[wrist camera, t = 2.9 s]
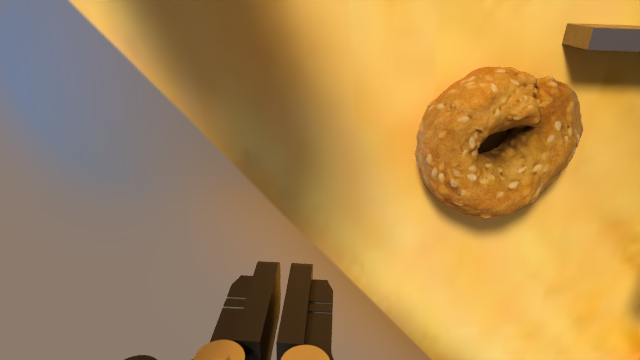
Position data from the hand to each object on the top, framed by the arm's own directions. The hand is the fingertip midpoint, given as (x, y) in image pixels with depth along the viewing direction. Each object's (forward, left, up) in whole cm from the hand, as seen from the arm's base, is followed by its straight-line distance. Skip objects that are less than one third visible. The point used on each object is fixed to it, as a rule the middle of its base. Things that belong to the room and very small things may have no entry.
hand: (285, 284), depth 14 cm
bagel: (+12, 0, -17) cm, 21 cm away
